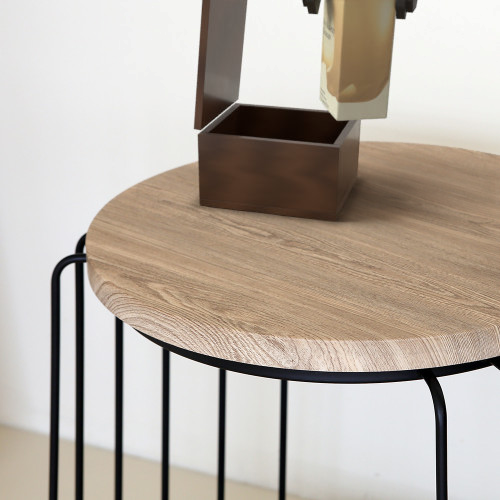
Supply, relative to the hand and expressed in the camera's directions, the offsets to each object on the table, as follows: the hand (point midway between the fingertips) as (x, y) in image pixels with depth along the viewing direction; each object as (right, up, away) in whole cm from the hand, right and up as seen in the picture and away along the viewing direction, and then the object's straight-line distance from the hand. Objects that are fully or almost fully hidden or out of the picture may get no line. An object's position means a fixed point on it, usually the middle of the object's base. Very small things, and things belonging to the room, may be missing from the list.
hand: (355, 10), depth 61 cm
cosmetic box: (0, -7, +5) cm, 9 cm away
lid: (-10, +3, +21) cm, 24 cm away
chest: (-5, -12, +27) cm, 30 cm away
